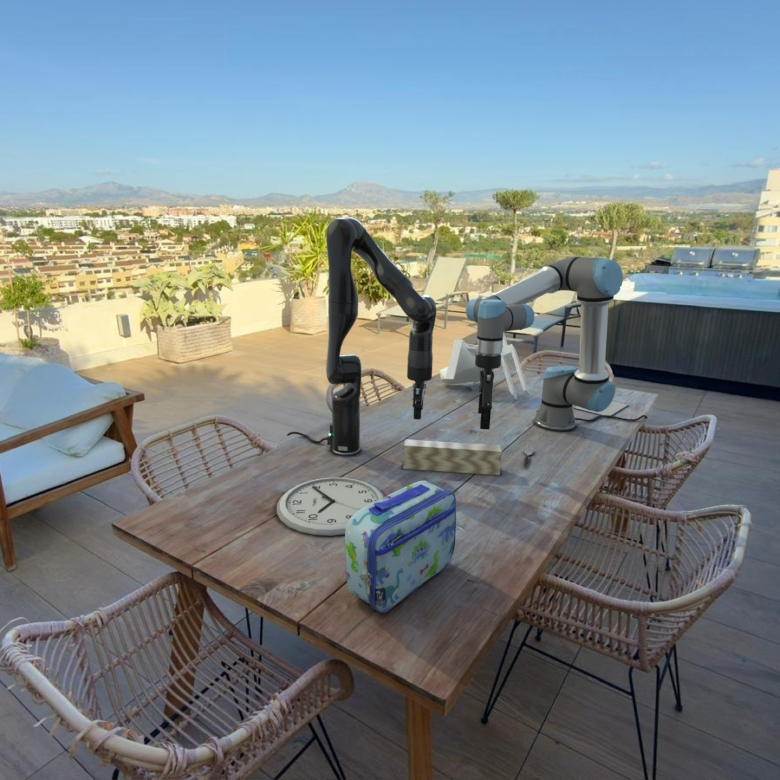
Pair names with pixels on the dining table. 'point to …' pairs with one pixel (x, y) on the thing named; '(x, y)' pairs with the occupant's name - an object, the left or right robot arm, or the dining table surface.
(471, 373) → the white plastic object
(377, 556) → the lunch box
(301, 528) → the wall clock
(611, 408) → the invitation card
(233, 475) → the dining table surface
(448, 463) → the plank
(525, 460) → the fork
